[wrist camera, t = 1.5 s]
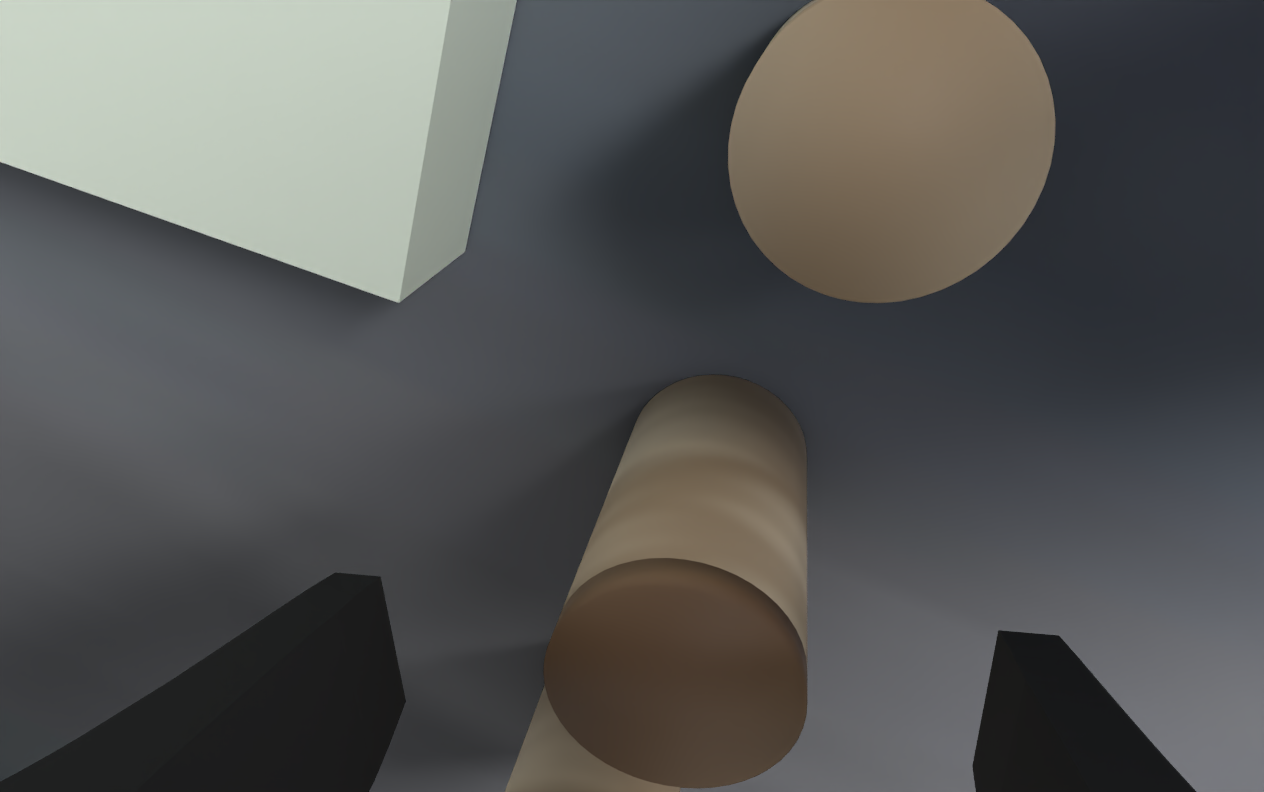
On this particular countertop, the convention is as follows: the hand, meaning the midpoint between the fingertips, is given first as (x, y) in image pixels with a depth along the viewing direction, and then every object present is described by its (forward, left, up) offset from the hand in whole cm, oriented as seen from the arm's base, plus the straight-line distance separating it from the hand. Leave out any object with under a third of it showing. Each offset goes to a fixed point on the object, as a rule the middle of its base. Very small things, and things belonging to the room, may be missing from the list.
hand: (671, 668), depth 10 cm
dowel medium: (0, 0, -5) cm, 5 cm away
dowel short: (0, -6, -5) cm, 8 cm away
